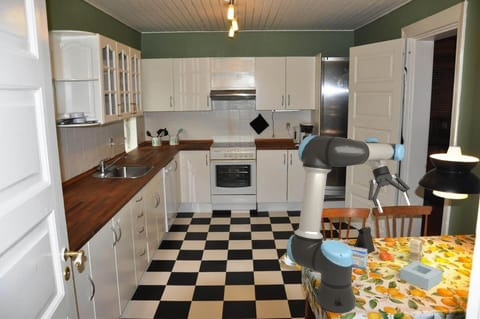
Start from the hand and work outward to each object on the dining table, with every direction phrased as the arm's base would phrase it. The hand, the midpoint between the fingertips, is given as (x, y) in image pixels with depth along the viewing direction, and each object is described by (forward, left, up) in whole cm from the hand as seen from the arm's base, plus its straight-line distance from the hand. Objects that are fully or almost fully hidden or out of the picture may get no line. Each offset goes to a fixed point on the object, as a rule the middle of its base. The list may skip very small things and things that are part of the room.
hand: (394, 209), depth 171 cm
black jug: (-2, +14, -25) cm, 29 cm away
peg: (+4, -10, -25) cm, 27 cm away
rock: (-3, +1, -26) cm, 26 cm away
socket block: (-10, -20, -25) cm, 34 cm away
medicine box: (-20, +5, -25) cm, 33 cm away
